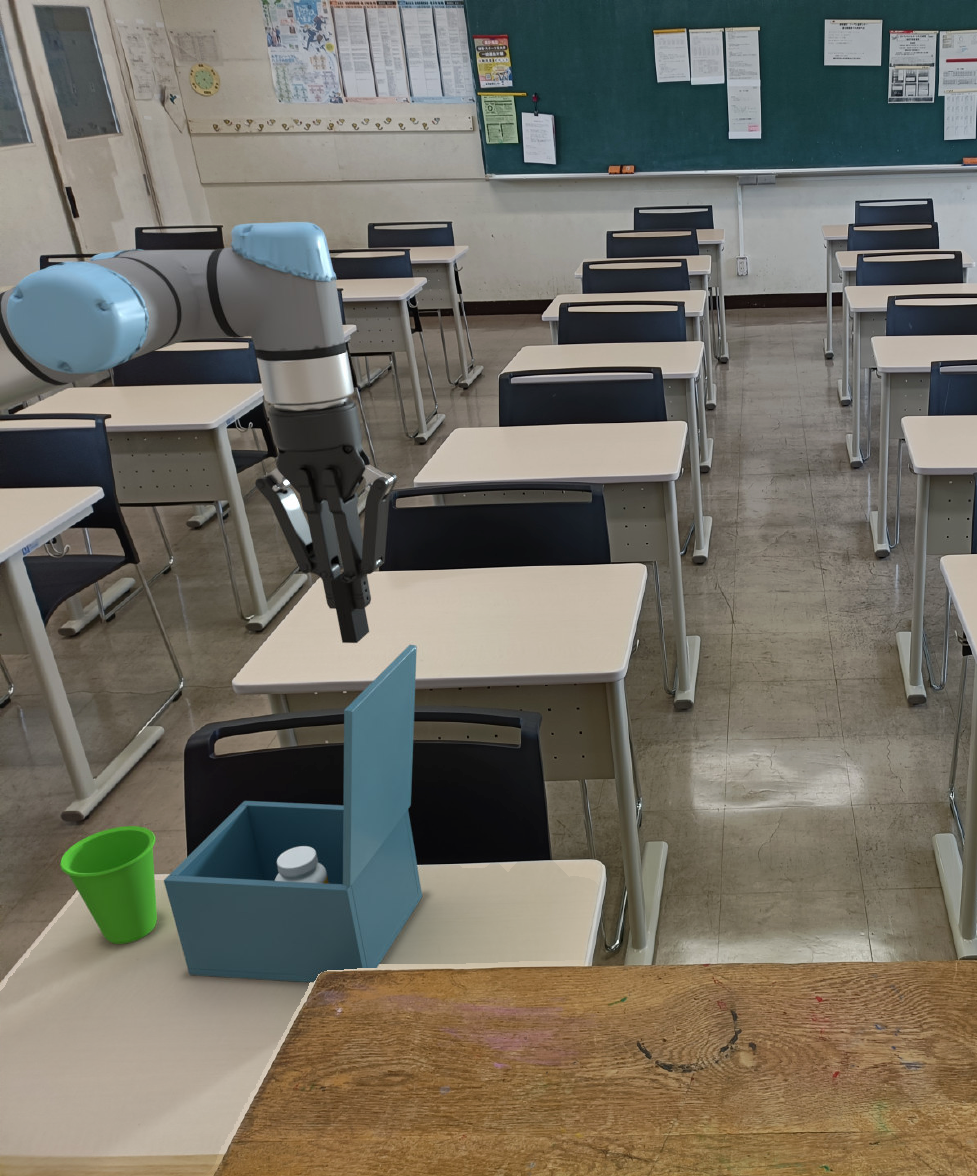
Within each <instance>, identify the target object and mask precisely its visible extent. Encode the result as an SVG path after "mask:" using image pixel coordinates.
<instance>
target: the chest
mask: <svg viewBox="0 0 977 1176" xmlns="http://www.w3.org/2000/svg"><path fill="white" fill-rule="evenodd" d="M343 808H344V804H343V805H340V804H320V803H301V802H300V803H299V802H298V803H297V802H296V803H295V802H277V801H257V800H255V801H254V800H243V802H241V803H240V804H239V805H238V806H237V808H235V810H234V811H232V813H230V814H229V815H228V817H226V818H225V819H224V820H223V821H222V822H221V823H220V824H219V825H218V826H217V827H216V828H215V829H214V830H213V831H212V832H211V833H210V834H209V835H208V836H207V837H206V838H205V839H204V840H203V841H202V842H201V843H200V844H199V845H198V846H197V847H196V848H195V849H194V850H193V851H191V853H190V854H188V856H187V857H186V858H185V859H183V860H182V861H181V863H179V865H178V866H177V867H176V868H175V869H173V870H172V871H171V873H170V874H168V876H166V877H165V878H164V879H163V883H164V888H165V890H166V894H167V898H168V903H169V905H170V909H171V913H172V916H173V919H174V920H173V921H174V924H175V927H176V930H177V934H178V938H179V942H180V945H181V950H182V953H183V957H184V961H185V965H186V967H187V971H188V975H189V976H200V977H217V978H218V977H219V978H235V979H250V980H251V979H252V980H264V981H265V980H266V981H268V980H269V981H281V982H282V981H283V982H299V983H314V981H315V980H316V978H317V976H318V974H320V973H321V972H324V971H327V970H344V969H357V968H377V969H378V968H379V965H380V964H381V963H382V961H383V960H384V957H385V956H386V954H387V953H388V951H389V950H390V948H391V947H392V945H393V944H394V942H395V941H396V938H398V935H399V934H400V933H401V931H402V929H403V928H404V926H405V924H406V923H407V921H409V918H410V917H411V915H412V914H413V912H414V911H415V908H417V906H418V904H419V903H420V901H421V899H422V897H423V892H422V886H421V881H420V875H419V874H420V873H419V868H418V862H417V856H416V850H415V844H414V836H413V831H412V825H411V819H410V813H409V809H408V810H407V811H406V812H405V814H404V815H403V816H402V818H401V819H400V820H399V822H398V823H397V824H396V826H395V827H394V828H393V830H392V831H391V833H390V834H389V835H388V837H387V838H386V839H385V841H384V842H383V843H382V845H381V846H380V847H379V849H378V850H377V851H376V853H375V854H374V855H373V857H372V858H371V859H370V861H369V862H368V863H367V865H366V866H365V867H364V869H363V870H362V871H361V873H360V874H359V875H358V877H357V878H356V880H355V881H354V882H353V884H352V885H351V886H350V887H348V886H343ZM300 846H308V847H311V848H313V849H314V850H315V851H316V854H317V858H318V863H320V864H322V865H323V866H324V867H325V869H326V872H327V877H328V882H329V884H325V883H306V882H287V881H275V878H276V876H277V875H278V873H279V872H278V867H277V859H278V857H279V856H280V855H281V854H282V853H284V852H285V851H287V850H289V849H292V848H295V847H300Z"/></svg>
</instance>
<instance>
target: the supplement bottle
mask: <svg viewBox="0 0 977 1176" xmlns="http://www.w3.org/2000/svg"><path fill="white" fill-rule="evenodd" d="M277 867H278V872H279V873H278V875H277V876H276V878H275V881H287V882H306V883H325V884H329V882H328V877H327V872H326V869H325V867H324V866H323V865H322V864H320V863H318V858H317V854H316V851H315V850H314V849H313V848H311V847H308V846H300V847H295V848H292V849H289V850H287V851H285V852H284V853H282V854H281V855H280V856H279V857H278V859H277Z"/></svg>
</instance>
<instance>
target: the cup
mask: <svg viewBox="0 0 977 1176" xmlns="http://www.w3.org/2000/svg"><path fill="white" fill-rule="evenodd" d="M155 844H156V836H155V834H154V832H153V831H152V830H150V829H148V828H147V827H142V826H138V825H124V826H118V827H113V828H107V829H105V830H102V831H98V832H95V833H93V834H90V835H89V836H86V837H85V838H82V839H81V840H79V841H77V842H76V843H75V844H73V845H72V846H70V847H69V848H68V849H67V850H66V851H65V852H64V853H63V856H62V857H61V859H60V864H59V867H60V870H61V871H62V872H63V873H65V874H66V875H68V876H69V878H70V879H71V881H72V883H73V885H74V886H75V888H76V890H77V892H78V893H79V895H80V897H81V899H82V900H83V902H84V904H85V906H86V907H87V909H88V911H89V913H90V915H91V916H92V918H93V919H94V921H95V923H96V925H97V927H98V929H99V930H100V932H101V934H102V936H103V937H104V939H105V940H106V941H108V942H109V943H111V944H115V945H124V944H129V943H130V944H131V943H133V942H136V941H138V940H141V939H142V938H144V937H146V936H147V935H149V934H150V933H151V932H152V931H153V930H154V929H155V927H156V924H157V921H158V913H157V896H156V895H157V894H156V879H155V865H154V864H155V863H154V849H153V848H154V845H155Z"/></svg>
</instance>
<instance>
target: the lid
mask: <svg viewBox="0 0 977 1176" xmlns="http://www.w3.org/2000/svg"><path fill="white" fill-rule="evenodd" d="M417 647H418V646H417V645H415V644H408V646H407V647H406V648H405V649H404V650H403V651H402V652H400V653H399V654H398V656H397V657H396V658H395V659H393V661H392V662H391V663H389V664H388V665H387V667H386V668H385V669H384V670H382V672H380V674H379V675H377V676H376V677H375V679H373V681H372V682H371V683H370V684H369V685H367V687H365V688H364V690H363V691H362V692H360V694H359V695H358V696H357V697H355V699H354V700H353V701H352V702H351V703H350V704H349V705H348V706H346V708H344V711H343V712H344V713H343V805H344V808H343V886H348V887H350V886H351V885H352V884H353V882H354V881H355V880H356V878H357V877H358V875H359V874H360V873H361V871H362V870H363V869H364V867H365V866H366V865H367V863H368V862H369V861H370V859H371V858H372V857H373V855H374V854H375V853H376V851H377V850H378V849H379V847H380V846H381V845H382V843H383V842H384V841H385V839H386V838H387V837H388V835H389V834H390V833H391V831H392V830H393V828H394V827H395V826H396V824H397V823H398V822H399V820H400V819H401V818H402V816H403V815H404V814H405V812H406V811H407V810H408V811H409V808H410V807H411V805H412V783H413V781H412V780H413V757H414V753H413V752H414V731H415V730H414V729H415V727H414V726H415V701H416V700H415V699H416V678H417V676H416V674H417V673H416V671H417V653H418V652H417V651H418V650H417V649H418V648H417Z"/></svg>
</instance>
